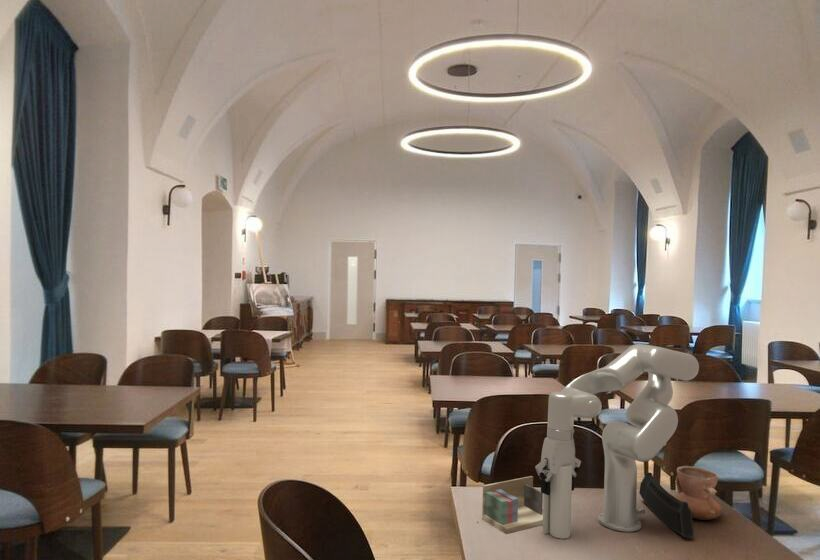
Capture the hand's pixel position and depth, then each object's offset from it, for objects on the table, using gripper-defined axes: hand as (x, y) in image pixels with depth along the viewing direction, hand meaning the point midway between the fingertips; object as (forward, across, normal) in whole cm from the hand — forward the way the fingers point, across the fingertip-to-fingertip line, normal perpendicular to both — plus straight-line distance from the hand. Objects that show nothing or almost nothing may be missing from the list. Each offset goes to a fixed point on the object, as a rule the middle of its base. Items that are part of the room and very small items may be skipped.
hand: (557, 491), depth 167 cm
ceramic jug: (+12, -53, +9) cm, 55 cm away
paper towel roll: (+13, -1, 0) cm, 13 cm away
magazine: (+12, -40, +7) cm, 42 cm away
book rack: (+13, +3, -13) cm, 19 cm away
